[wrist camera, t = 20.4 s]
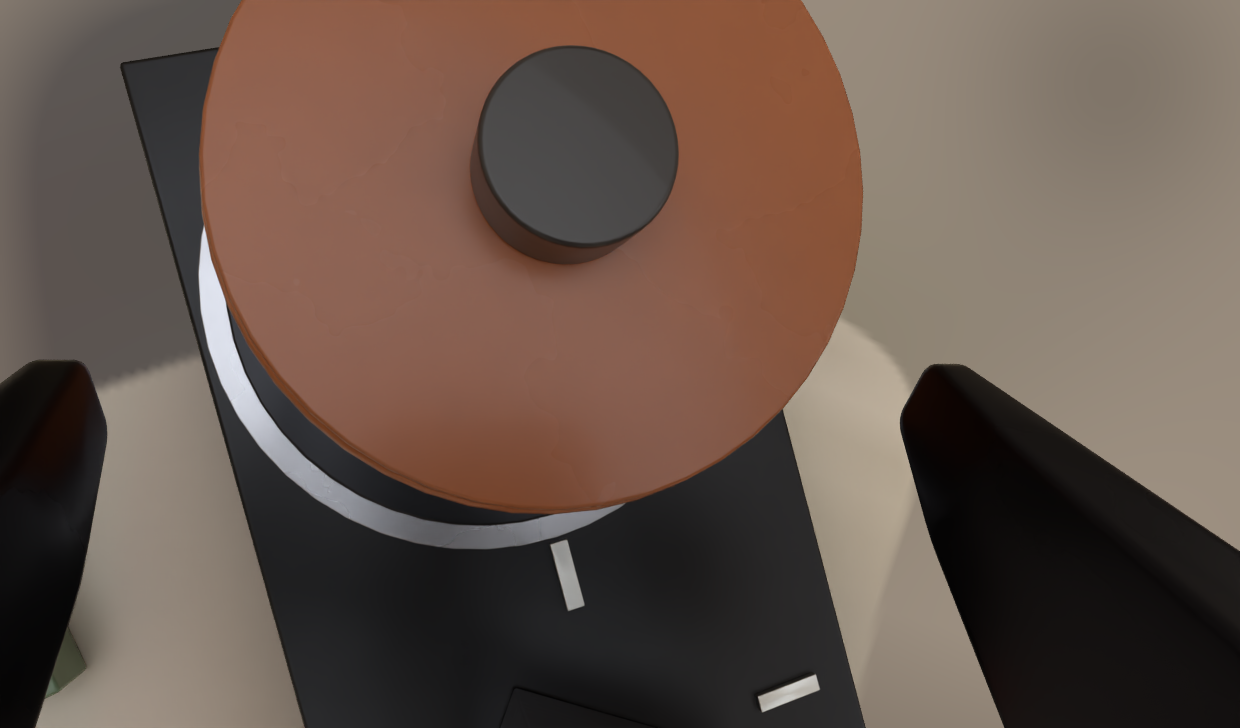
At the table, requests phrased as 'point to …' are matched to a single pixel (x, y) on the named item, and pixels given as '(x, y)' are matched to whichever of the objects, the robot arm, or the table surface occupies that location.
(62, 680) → the rack
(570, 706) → the grey and red block
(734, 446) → the pot
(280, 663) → the table surface
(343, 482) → the hob plate
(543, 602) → the hob
